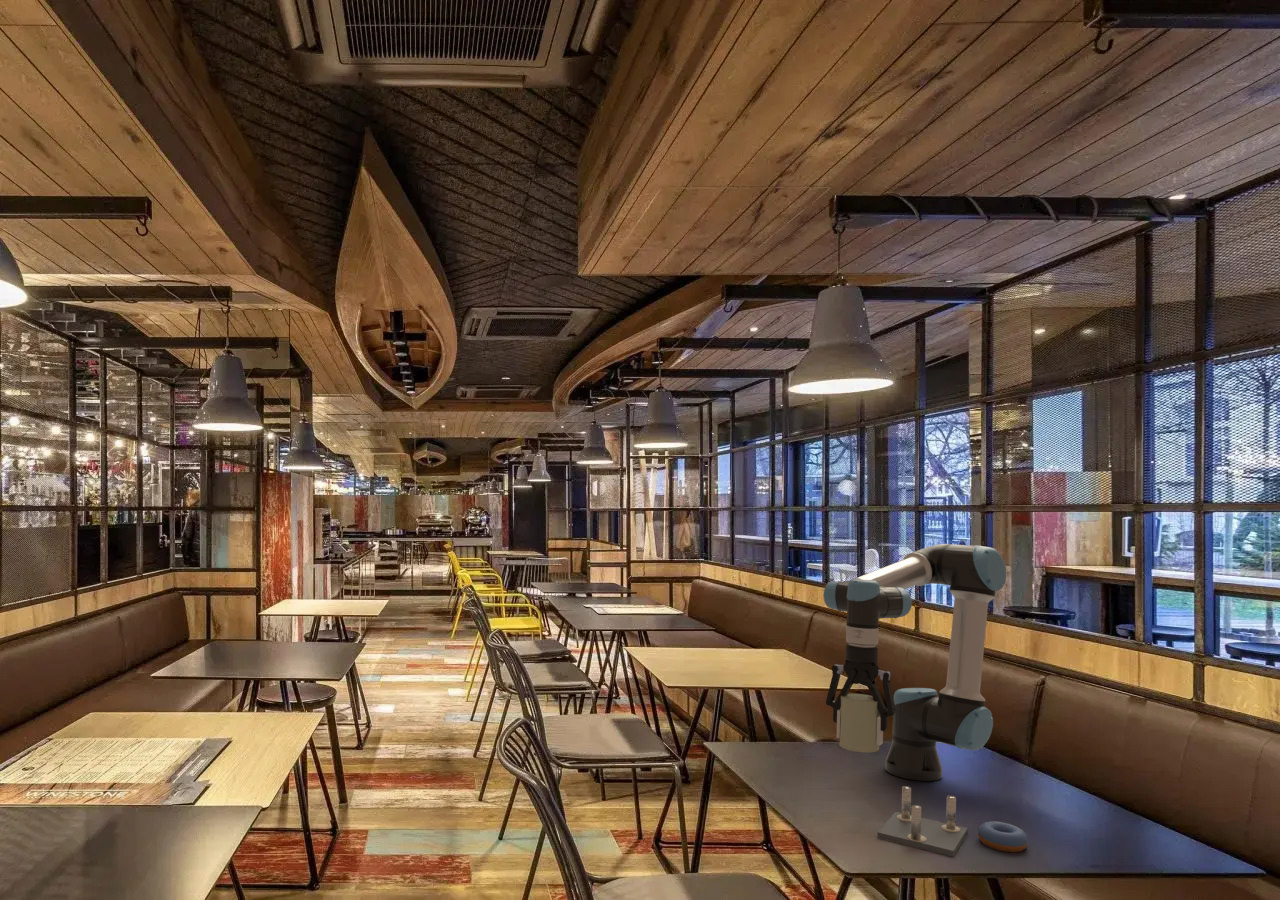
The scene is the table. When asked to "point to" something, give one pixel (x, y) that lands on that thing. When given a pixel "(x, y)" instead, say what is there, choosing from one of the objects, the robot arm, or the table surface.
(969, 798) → the table surface
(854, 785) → the table surface
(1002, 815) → the table surface
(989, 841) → the doughnut
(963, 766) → the table surface
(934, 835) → the board
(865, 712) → the can
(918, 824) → the pins
